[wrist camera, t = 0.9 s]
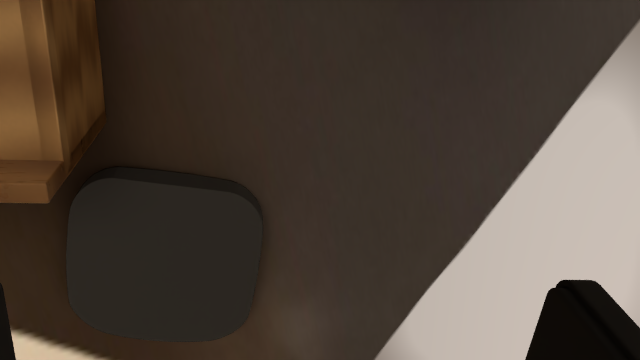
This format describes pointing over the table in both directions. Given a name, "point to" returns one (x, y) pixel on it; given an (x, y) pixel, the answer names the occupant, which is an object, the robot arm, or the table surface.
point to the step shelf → (47, 94)
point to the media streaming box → (163, 254)
